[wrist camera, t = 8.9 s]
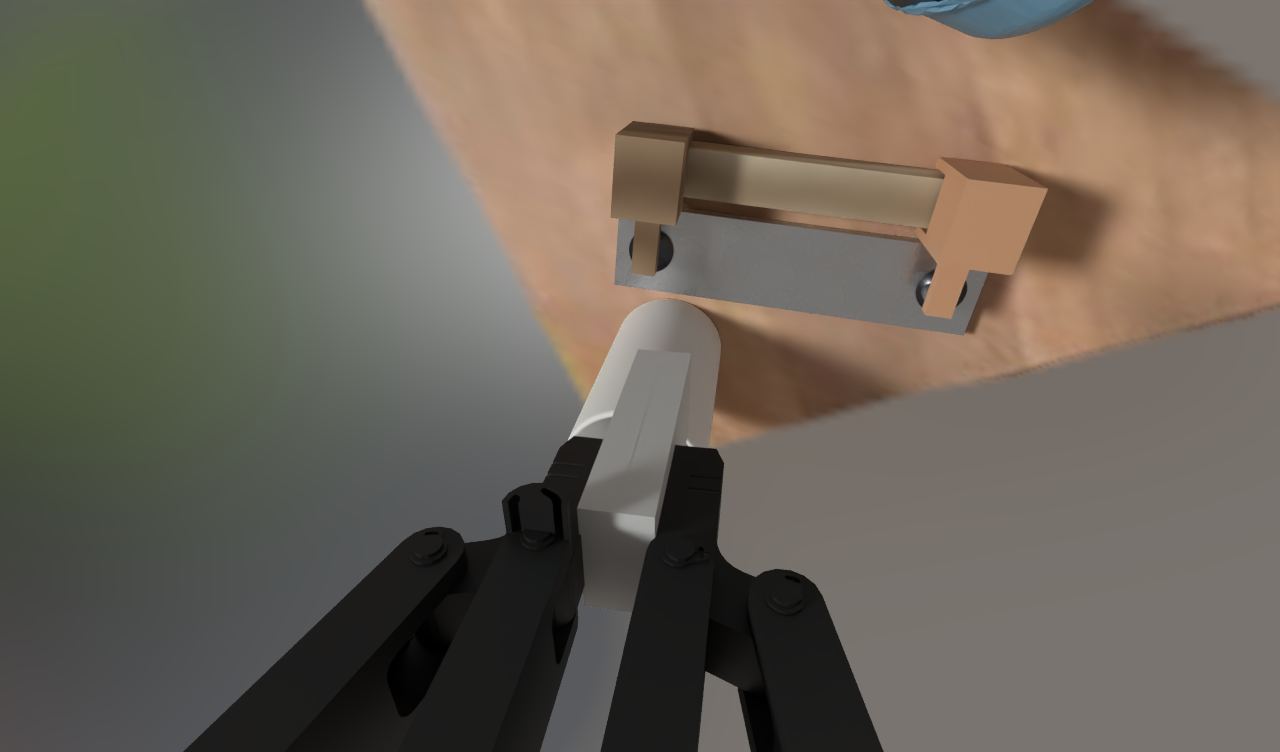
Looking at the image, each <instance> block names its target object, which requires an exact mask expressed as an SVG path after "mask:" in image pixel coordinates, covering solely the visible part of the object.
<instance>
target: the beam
mask: <svg viewBox="0 0 1280 752" xmlns="http://www.w3.org/2000/svg"><path fill="white" fill-rule="evenodd" d="M944 178H945V174H944V173H942V172H941V171H940V170H936V169H927V168H919V167H910V166H902V165H893V164H885V163H877V162H868V161H860V160H851V159H843V158H835V157H826V156H818V155H809V154H801V153H792V152H784V151H776V150H767V149H759V148H750V147H742V146H734V145H725V144H717V143H708V142H700V141H691V143H690V144H689V152H688V160H687V169H686V177H685V186H684V194H683V197H686V198H694V199H701V200H709V201H717V202H725V203H732V204H740V205H748V206H756V207H763V208H771V209H779V210H787V211H794V212H802V213H810V214H818V215H826V216H833V217H841V218H849V219H857V220H864V221H872V222H880V223H888V224H895V225H903V226H911V227H919V228H927V229H928V227H929V224H930V221H931V217H932V214H933V211H934V208H935V205H936V202H937V199H938V196H939V193H940V190H941V187H942V184H943V181H944Z"/></svg>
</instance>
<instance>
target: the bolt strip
mask: <svg viewBox="0 0 1280 752" xmlns="http://www.w3.org/2000/svg"><path fill="white" fill-rule="evenodd" d="M634 230H635V221H633V220H626V219H619V224H618V239H617V254H616V268H615V283H614V285H621V286H628V287H635V288H642V289H648V290H655V291H662V292H669V293H676V294H683V295H690V296H697V297H703V298H710V299H717V300H724V301H731V302H738V303H745V304H751V305H758V306H765V307H772V308H779V309H786V310H793V311H800V312H806V313H813V314H820V315H827V316H834V317H841V318H848V319H855V320H861V321H868V322H875V323H882V324H889V325H896V326H903V327H910V328H916V329H923V330H930V331H937V332H944V333H951V334H958V335H964V333H965V331H966V328H967V326H968V323H969V320H970V318H971V315H972V313H973V310H974V308H975V305H976V303H977V300H978V298H979V295H980V292H981V290H982V287H983V285H984V282H985V280H986V277H987V275H988V272H983V271H975V270H969V273H968V275H967V278H966V281H965V283H964V286H963V288H962V291H961V294H960V296H959V299H958V302H957V304H956V307H955V310H954V312H953V315H952V318H951V319H948V318H941V317H934V316H927V315H925V314H924V312H923V310H922V307H923V304H924V299H923V297H922V295H921V290H922V288H923V287H924V286H925V285H926V284H929V283H931V281H932V278H933V275H934V272H935V269H936V266H937V263H936V261H935V260H934V259H933V257H932V256H931V255H930V253H929V252H928V250H927V249H926V248H925V246H924V245H923V244H922V242H921V241H920V239H916V238H908V237H900V236H893V235H885V234H877V233H870V232H862V231H854V230H847V229H839V228H831V227H824V226H816V225H809V224H801V223H793V222H786V221H778V220H770V219H763V218H755V217H747V216H740V215H732V214H724V213H717V212H709V211H701V210H694V209H686V208H683V210H682V212H681V214H680V217H679V219H678V221H677V224H676V226H671V225H663V224H661V234H660V243H659V255H658V263H657V272H656V274H655V276H647V275H640V274H633V273H631V267H632V254H633V242H634Z"/></svg>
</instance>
